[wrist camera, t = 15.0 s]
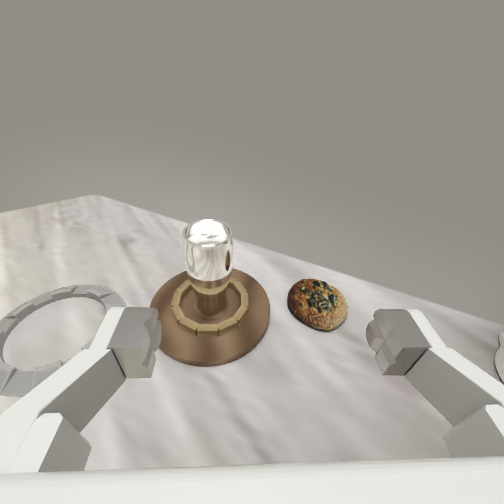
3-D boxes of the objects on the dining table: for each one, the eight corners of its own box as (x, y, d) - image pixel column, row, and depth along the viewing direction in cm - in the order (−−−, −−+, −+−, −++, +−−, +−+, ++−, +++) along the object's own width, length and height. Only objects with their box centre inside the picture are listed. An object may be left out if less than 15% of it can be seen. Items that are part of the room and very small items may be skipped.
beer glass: (186, 296, 45) (176, 222, 36) (224, 286, 47) (224, 214, 38) (196, 328, 40) (187, 252, 31) (238, 315, 42) (241, 241, 33)
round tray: (264, 272, 53) (265, 261, 51) (275, 365, 38) (277, 354, 36) (165, 270, 52) (163, 259, 50) (133, 366, 36) (128, 355, 34)
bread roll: (275, 292, 49) (282, 272, 46) (321, 283, 54) (330, 265, 51) (306, 342, 42) (317, 322, 39) (356, 327, 46) (369, 309, 43)
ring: (-10, 435, 30) (-20, 428, 28) (-32, 328, 40) (-40, 320, 39) (149, 334, 41) (147, 327, 40) (100, 272, 51) (97, 264, 50)
